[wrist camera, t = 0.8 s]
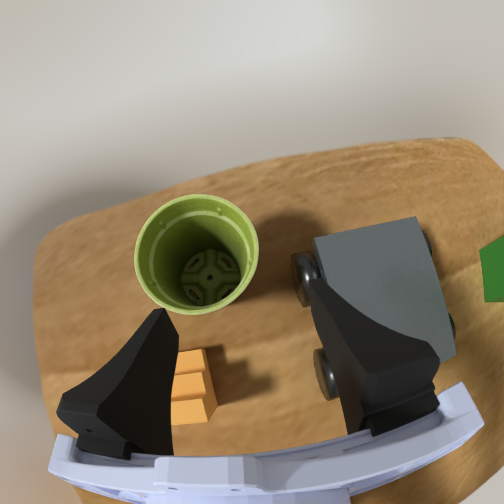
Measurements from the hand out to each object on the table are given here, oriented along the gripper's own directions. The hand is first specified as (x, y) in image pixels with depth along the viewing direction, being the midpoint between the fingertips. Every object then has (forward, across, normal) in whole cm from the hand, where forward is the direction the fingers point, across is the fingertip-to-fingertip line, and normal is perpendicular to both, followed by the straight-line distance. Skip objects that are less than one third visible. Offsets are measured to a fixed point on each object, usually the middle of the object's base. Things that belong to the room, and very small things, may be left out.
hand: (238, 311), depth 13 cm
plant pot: (+13, +4, +6) cm, 15 cm away
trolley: (+9, -11, +12) cm, 19 cm away
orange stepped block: (+6, +8, +13) cm, 16 cm away
